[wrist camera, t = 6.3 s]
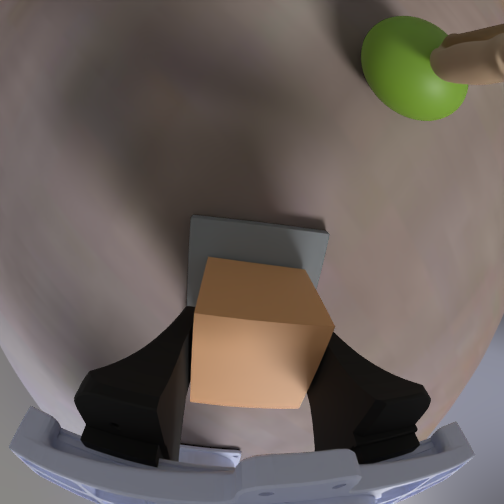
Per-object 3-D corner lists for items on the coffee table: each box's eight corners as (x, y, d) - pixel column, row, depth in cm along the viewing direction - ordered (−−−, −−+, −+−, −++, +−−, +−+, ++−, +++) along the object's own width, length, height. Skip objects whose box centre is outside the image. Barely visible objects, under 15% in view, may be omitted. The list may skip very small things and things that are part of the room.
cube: (284, 343, 16) (298, 408, 11) (200, 335, 15) (190, 401, 10) (305, 269, 14) (334, 326, 9) (208, 256, 13) (194, 313, 9)
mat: (292, 358, 17) (294, 364, 17) (188, 350, 17) (187, 356, 16) (326, 230, 14) (329, 234, 14) (192, 214, 14) (190, 217, 13)
